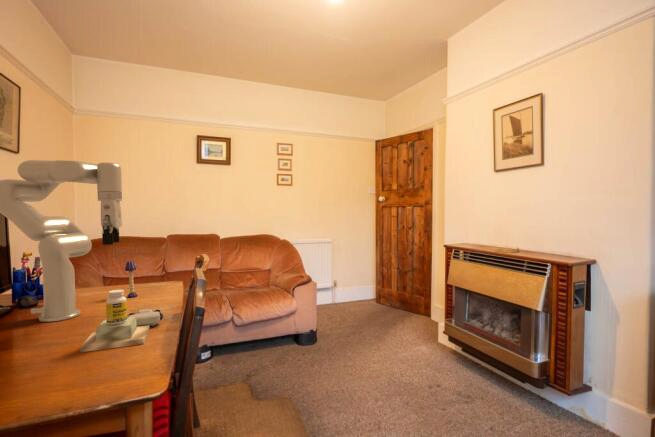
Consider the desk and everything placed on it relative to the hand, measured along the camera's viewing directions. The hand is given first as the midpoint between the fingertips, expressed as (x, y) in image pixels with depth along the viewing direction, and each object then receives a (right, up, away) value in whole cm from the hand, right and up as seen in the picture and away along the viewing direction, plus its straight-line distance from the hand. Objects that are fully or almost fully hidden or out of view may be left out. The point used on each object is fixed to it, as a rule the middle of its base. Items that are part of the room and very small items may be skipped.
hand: (111, 243), depth 125 cm
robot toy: (+14, -29, -4) cm, 32 cm away
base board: (+15, -29, -20) cm, 38 cm away
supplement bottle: (+14, -23, -20) cm, 34 cm away
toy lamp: (-12, -28, +34) cm, 46 cm away
